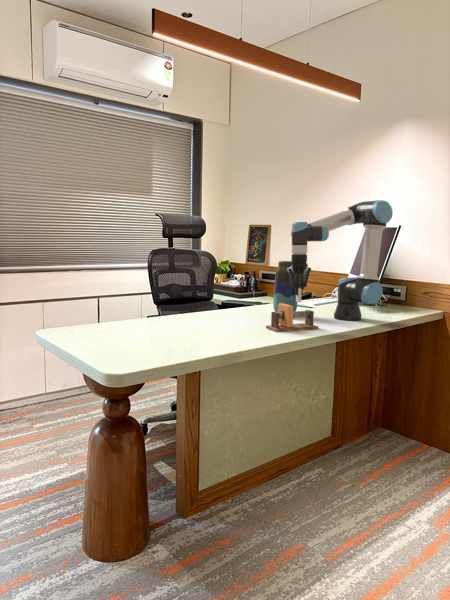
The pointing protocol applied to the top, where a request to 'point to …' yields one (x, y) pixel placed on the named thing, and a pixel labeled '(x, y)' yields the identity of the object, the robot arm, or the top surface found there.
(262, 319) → the top surface
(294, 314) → the pipe rig
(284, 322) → the collar
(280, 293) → the vase
